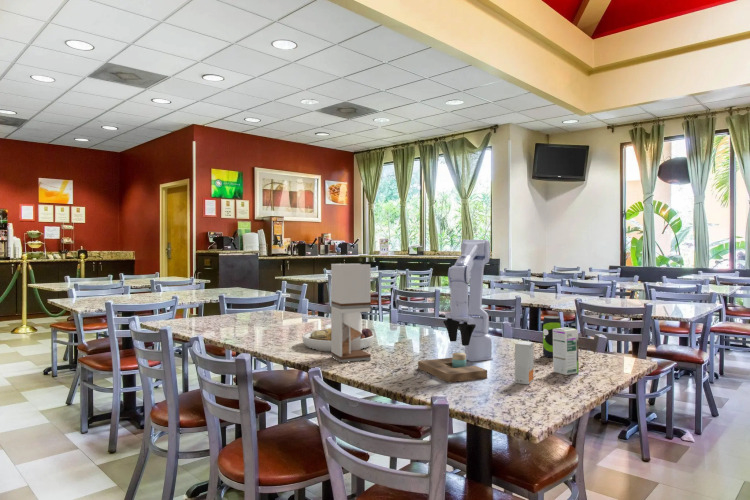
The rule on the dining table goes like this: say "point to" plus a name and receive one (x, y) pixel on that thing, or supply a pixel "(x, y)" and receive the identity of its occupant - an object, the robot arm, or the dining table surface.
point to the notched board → (451, 370)
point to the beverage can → (549, 334)
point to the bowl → (323, 339)
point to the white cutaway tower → (349, 310)
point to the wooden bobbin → (459, 360)
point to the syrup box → (565, 351)
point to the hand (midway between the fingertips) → (459, 343)
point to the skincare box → (524, 362)
